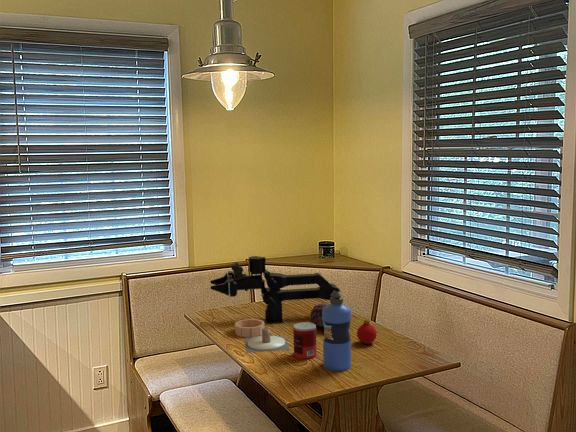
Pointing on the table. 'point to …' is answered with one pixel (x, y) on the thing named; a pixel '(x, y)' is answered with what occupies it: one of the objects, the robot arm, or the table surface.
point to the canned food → (304, 340)
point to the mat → (266, 350)
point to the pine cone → (317, 315)
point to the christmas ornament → (366, 332)
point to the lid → (266, 341)
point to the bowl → (249, 327)
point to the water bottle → (336, 334)
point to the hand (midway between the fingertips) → (210, 284)
